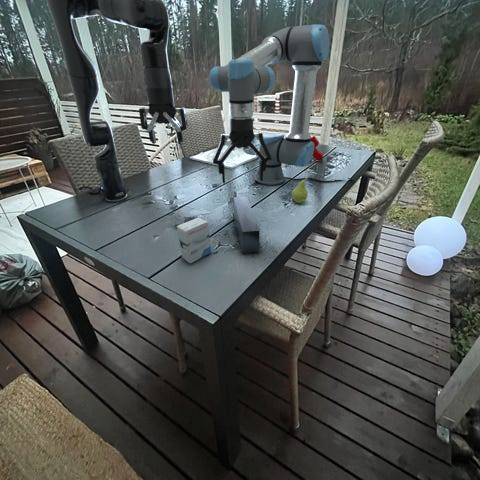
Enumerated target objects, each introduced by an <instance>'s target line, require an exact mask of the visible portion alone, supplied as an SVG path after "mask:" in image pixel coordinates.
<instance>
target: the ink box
mask: <svg viewBox="0 0 480 480" xmlns="http://www.w3.org/2000/svg"><path fill="white" fill-rule="evenodd" d="M209 226H210V225H209V221H208V220H206V219H203V218H202V217H200V216H198V217H196V218H194V219H191V220H188V221H186V222H183V223H181V224H178V225H176V229H177V236H178V242H179V248H180V254H181V258H182V259H183V260H184V261H186V262H187V263H189V264H193V263H194V262H196V261H198V260H200V259H202V258H204V257H205V256H207V255H209V254H211V253H212V252H211V251H212V250H211V240H210V239H211V238H210V229H209V228H210V227H209Z"/></svg>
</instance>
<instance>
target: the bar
mask: <svg viewBox="0 0 480 480" xmlns="http://www.w3.org/2000/svg"><path fill="white" fill-rule="evenodd" d="M233 219H234V223H235V227H236V231H237V236H238V242H239V245H240V249H241V254H242V255H246V254H259V253H260V234H261V233H260V232H261V231H260V228H259V225H258V222H257V219H256V217H255V214H254V211H253V208H252V206H251V202H250V200H249V197H248V196H235V197H233Z"/></svg>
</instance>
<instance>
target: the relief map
mask: <svg viewBox="0 0 480 480" xmlns="http://www.w3.org/2000/svg"><path fill="white" fill-rule="evenodd" d="M228 147H229V145H227V144H224V146H223V148H222V151H221V153H220V155H219V158H218V160H219V159H220V158H221V156H222V155H223V154H224V152H225V151H226V150H227V148H228ZM217 148H218V147H216V148H213V149H210V150H208V151H204V152H202V151H201V152H200V153H198V154H196V155H192V156H189V160H193V161H196V162H201V163H204V164H209V165H214V166H217V167H218V164H214V163H213V158H214V155H215V153H216V150H217ZM256 159H258V155H256V154H249V153H246V152H245V151H244V149H242V148H237V149H233V150H232V152H231V153H230V154H229V156H228V157H227V158H226V159H225V161H224V162H223V163H224V169H225V168H226V169H230V170H233V169H235V168H237V167H240V166H241V165H244V164H247V163H250V162H252V161H254V160H256Z"/></svg>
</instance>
